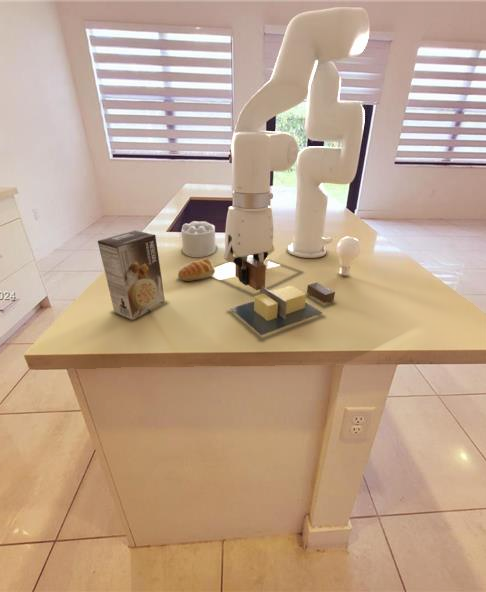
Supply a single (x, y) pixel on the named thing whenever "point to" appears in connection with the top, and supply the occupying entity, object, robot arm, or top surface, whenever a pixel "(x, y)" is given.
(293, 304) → the butter block
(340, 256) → the lightbulb
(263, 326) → the butter dish
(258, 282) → the knife
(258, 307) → the butter slice
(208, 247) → the lumpy-topped squat cylinder
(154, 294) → the coffee box
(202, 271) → the pastry
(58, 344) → the top surface
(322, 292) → the knife rest
